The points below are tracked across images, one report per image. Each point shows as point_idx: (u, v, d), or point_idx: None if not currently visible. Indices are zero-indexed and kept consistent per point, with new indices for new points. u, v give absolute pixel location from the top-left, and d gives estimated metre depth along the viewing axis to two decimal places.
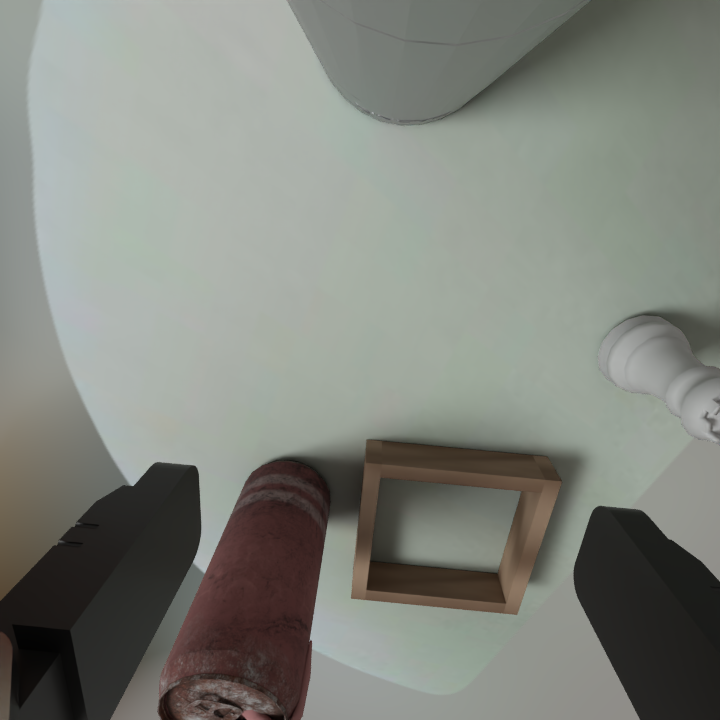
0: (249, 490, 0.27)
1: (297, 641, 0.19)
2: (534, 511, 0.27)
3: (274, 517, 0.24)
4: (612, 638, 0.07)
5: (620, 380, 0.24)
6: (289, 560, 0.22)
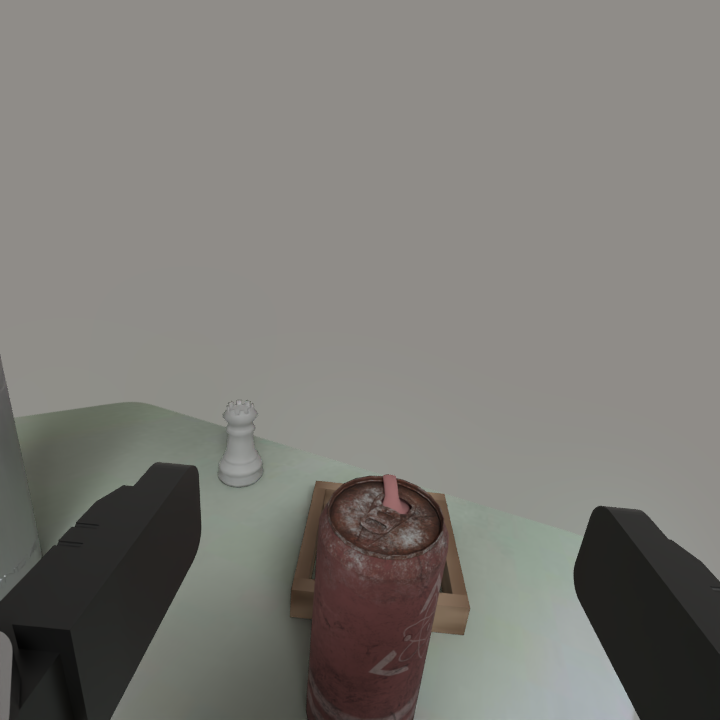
0: (317, 708, 0.22)
1: None
2: None
3: None
4: (612, 638, 0.07)
5: (249, 468, 0.42)
6: None
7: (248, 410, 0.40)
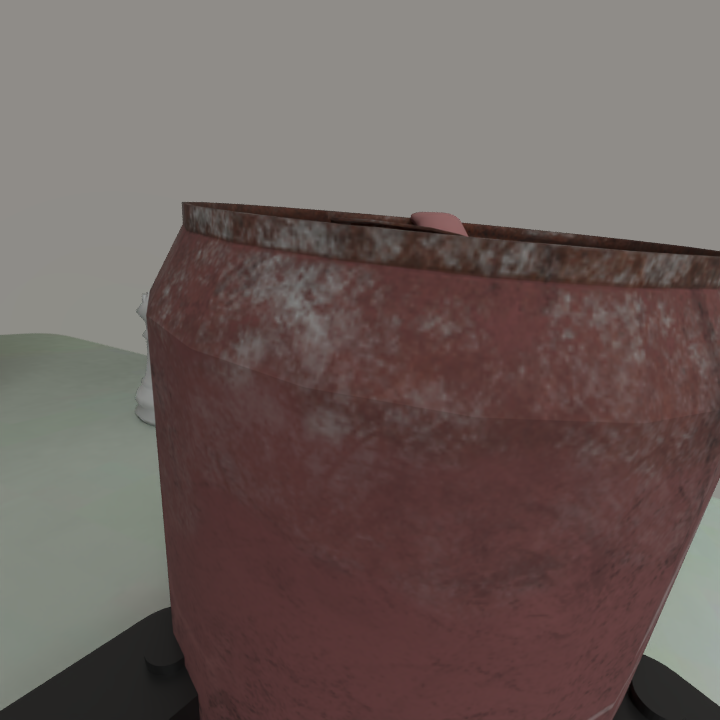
0: None
1: None
2: None
3: None
4: None
5: None
6: None
7: None
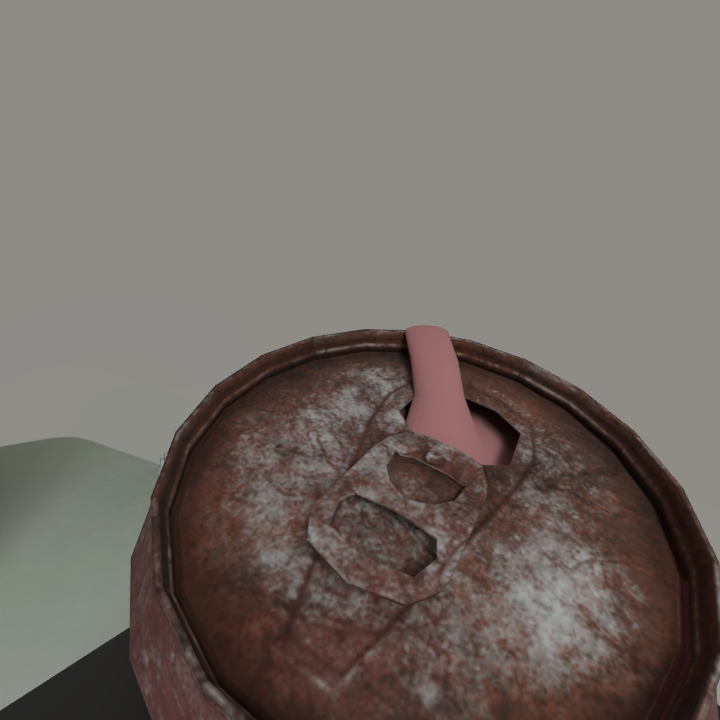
0: None
1: None
2: None
3: None
4: None
5: None
6: None
7: None
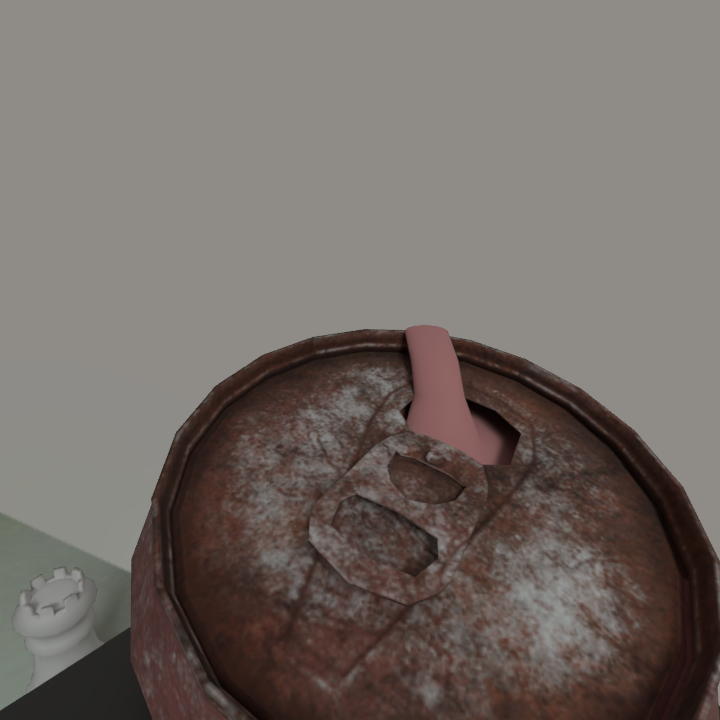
0: None
1: None
2: None
3: None
4: None
5: None
6: None
7: (65, 603, 0.19)
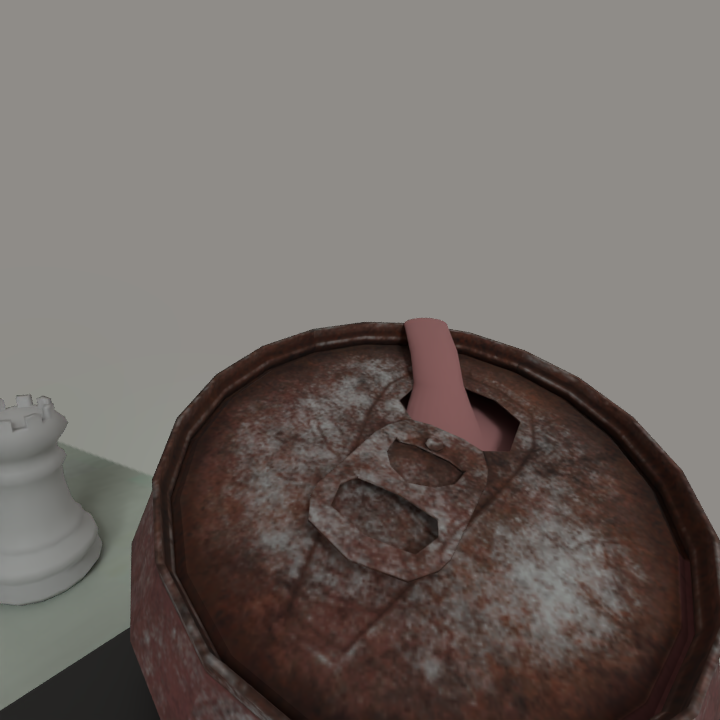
0: None
1: None
2: None
3: None
4: None
5: (44, 560, 0.17)
6: None
7: (26, 421, 0.16)
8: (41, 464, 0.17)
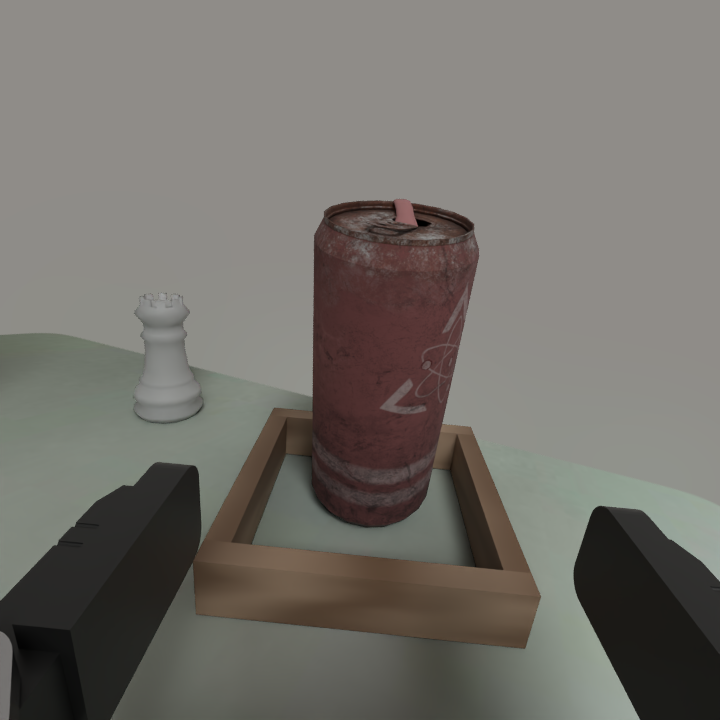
0: (322, 469, 0.20)
1: None
2: None
3: None
4: (612, 638, 0.07)
5: (177, 394, 0.28)
6: None
7: (172, 302, 0.27)
8: (177, 332, 0.27)
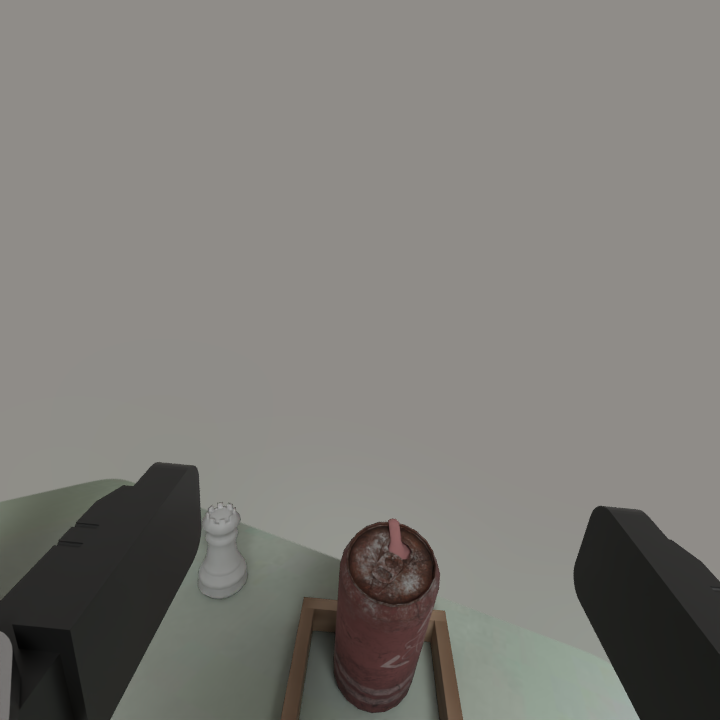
0: (342, 678, 0.30)
1: None
2: (333, 611, 0.35)
3: None
4: (612, 638, 0.07)
5: (231, 578, 0.38)
6: None
7: (229, 518, 0.37)
8: (232, 535, 0.38)
